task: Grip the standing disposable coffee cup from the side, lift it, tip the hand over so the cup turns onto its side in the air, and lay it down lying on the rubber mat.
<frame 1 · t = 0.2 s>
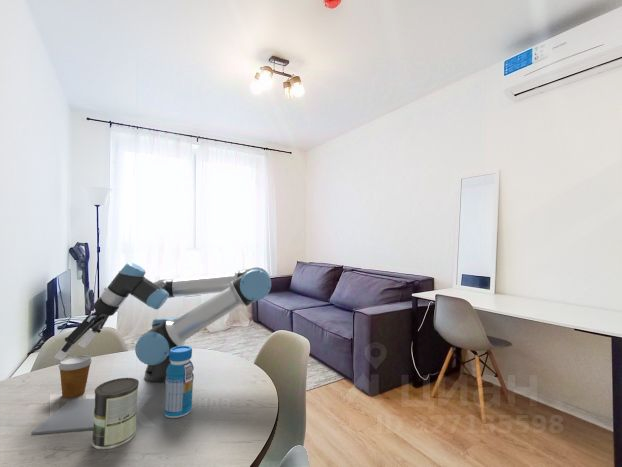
hand: (70, 352, 106), 15 cm above the table, tool tilted 35°, fingers open, 13 cm apart
mat: (85, 414, 94), on the table
disposable coffee cup: (73, 394, 106), on the table
beverage bottle: (178, 412, 96), on the table
coffee can: (114, 438, 83), on the table
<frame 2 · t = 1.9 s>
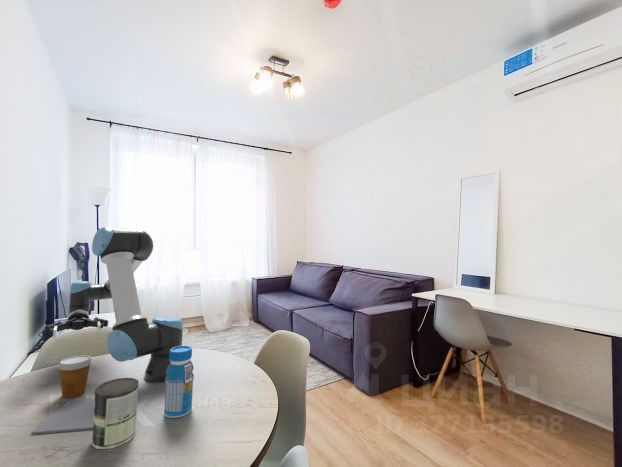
hand: (77, 331, 115), 20 cm above the table, tool horizontal, fingers open, 13 cm apart
nothing on the table moved.
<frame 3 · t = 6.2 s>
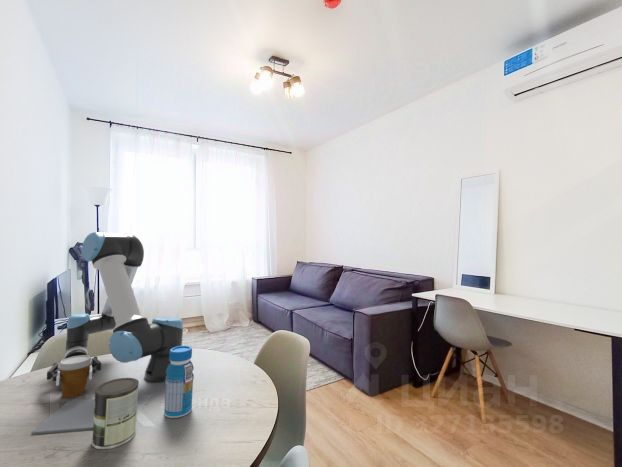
hand: (74, 378, 103), 7 cm above the table, tool horizontal, fingers closed on disposable coffee cup, 8 cm apart
disposable coffee cup: (73, 394, 106), on the table, touching gripper
everything else where it was.
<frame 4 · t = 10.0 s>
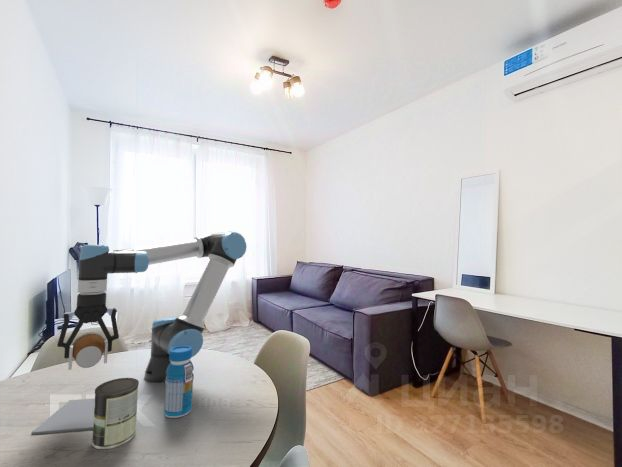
hand: (88, 364, 94), 15 cm above the table, tool pointing down, fingers closed on disposable coffee cup, 8 cm apart
disposable coffee cup: (89, 357, 89), point 20 cm above the table, touching gripper
everything else where it was.
when the fingers open (2 cm above the table, at t = 13.2 s): disposable coffee cup drops 3 cm, resting on mat.
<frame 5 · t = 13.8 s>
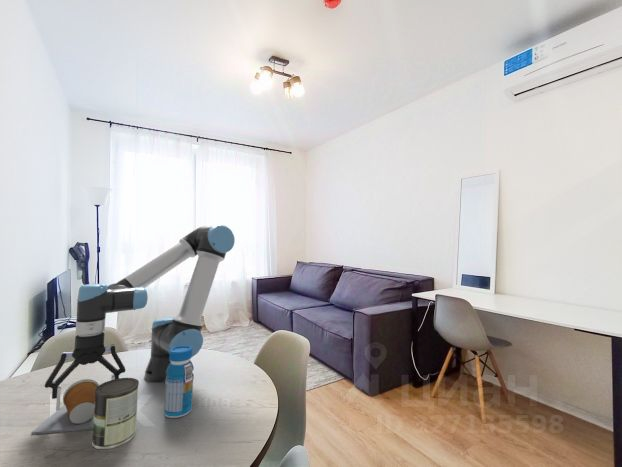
hand: (86, 402, 94), 4 cm above the table, tool pointing down, fingers open, 13 cm apart
disposable coffee cup: (82, 413, 87), point 4 cm above the table, touching mat
everything else where it was.
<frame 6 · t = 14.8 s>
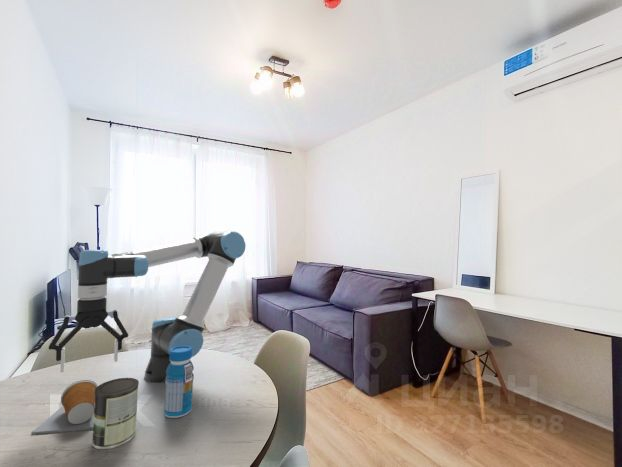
hand: (90, 365, 95), 15 cm above the table, tool pointing down, fingers open, 13 cm apart
nothing on the table moved.
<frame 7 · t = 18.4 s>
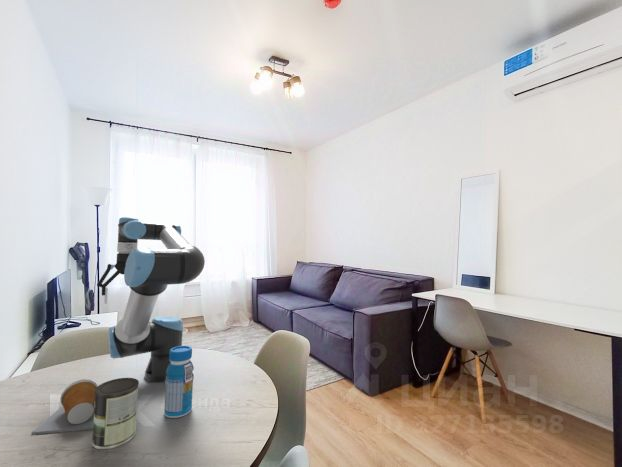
hand: (124, 301, 130), 29 cm above the table, tool pointing down, fingers open, 13 cm apart
nothing on the table moved.
at the end: disposable coffee cup tilted 82°; disposable coffee cup 7.7 cm from the mat (horizontally); the gripper is holding nothing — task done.
